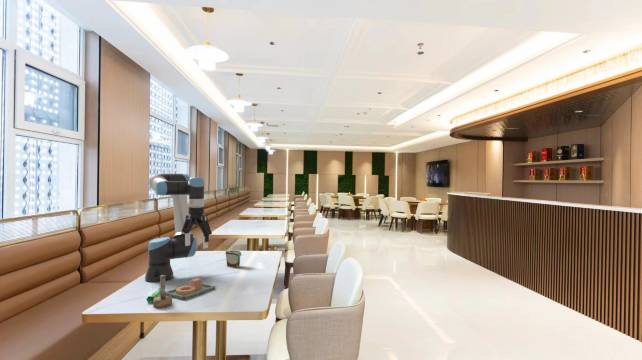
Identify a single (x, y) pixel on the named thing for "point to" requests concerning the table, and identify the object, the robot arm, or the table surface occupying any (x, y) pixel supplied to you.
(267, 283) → the table surface
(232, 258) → the food container
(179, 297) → the tray
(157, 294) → the candy
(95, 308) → the table surface
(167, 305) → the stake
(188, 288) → the ring
